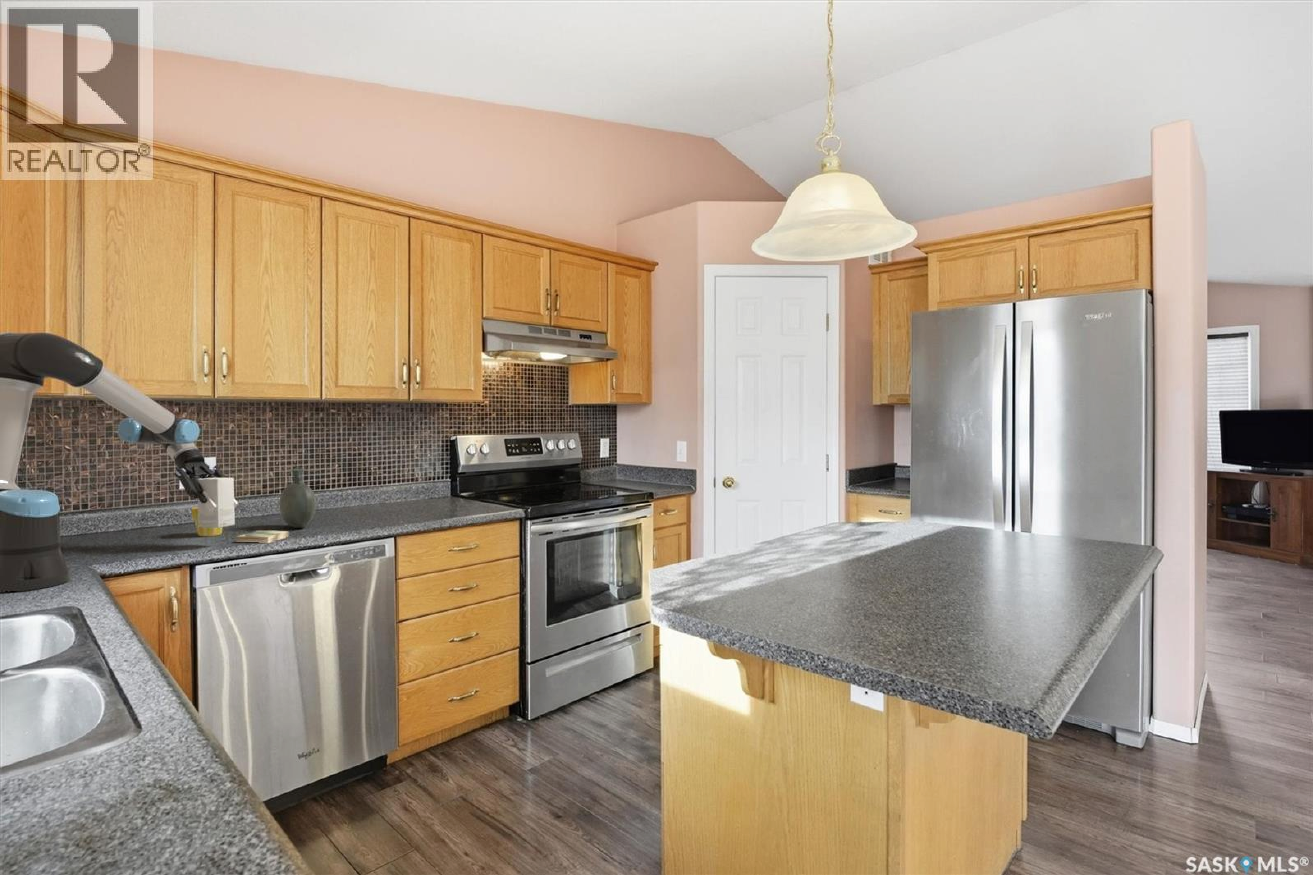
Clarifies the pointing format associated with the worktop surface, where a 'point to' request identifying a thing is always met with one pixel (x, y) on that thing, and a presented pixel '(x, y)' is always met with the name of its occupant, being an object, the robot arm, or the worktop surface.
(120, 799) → the worktop surface
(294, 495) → the flask
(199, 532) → the plant pot
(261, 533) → the birch board
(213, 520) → the skincare box
